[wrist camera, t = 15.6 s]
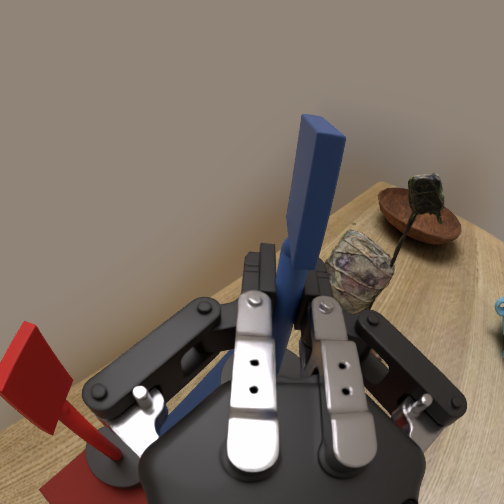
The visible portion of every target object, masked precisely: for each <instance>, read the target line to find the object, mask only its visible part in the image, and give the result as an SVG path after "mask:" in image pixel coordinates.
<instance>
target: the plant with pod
mask: <svg viewBox="0 0 504 504" xmlns="http://www.w3.org/2000/svg"><path fill="white" fill-rule="evenodd" d="M408 189H409V193H408V197H409V205H410V208H411V209H412V210H413V212H412V213H411V216H410V218H409V219H408V223H407V226H406V229H405V231H404V234H403V236H402V237H401V238H400V240H399V243H398V245H397V247H396V249H395V252H394V256H393V258H392V260H391V258H390V255H389V254H387V253H386V252H385V251H384V250H383V249H382V248H381V247H380V246H379V245H378V244H376V243H375V242H374V241H372V240H370V239H369V238H368V237H367V236H366V235H365V234H363V233H361V232H358V231H355V230H349V231H347V232H346V233H345V234H344V235H343V237H342V238H341V240H340V241H339V244H338V245H337V246H336V247H335V249H334V250H333V251H332V253H331V255H330V257H329V258H328V259H327V260H326V261H325V265H326V268H327V273H328V276H329V280H330V284H331V288H332V293H333V297H334V299H335V300H337V301H338V302H339V303H340V305H341V308H342V310H344V311H346V312H349V313H352V314H355V315H358V316H359V314H360V313H361V312H362V311H364V310H370V309H371V307H372V305H373V302H374V301H375V299H376V297H377V296H378V295H379V294H380V292H382V290H383V289H384V288H386V287H387V286H388V285H389V282H390V280H391V278H392V276H393V275H394V270H395V269H394V266H395V265H394V262H395V260H396V258H397V255H398V253H399V250H400V248H401V246H402V245H403V241H404V240H405V237H406V235H407V233H408V232H409V231H410V229H411V226H412V225H413V223H414V221H415V218H416V216H417V215H423V214H426V213H429V214H430V215H432V214H434V215H435V216H436V217H437V221H438V223H439V224H442V223H443V222H442V219H441V218H442V215H441V213H440V212H441V210H443V209H444V194H443V189H442V183H441V179H440V177H439V176H438V175H437V174H436V173H432V174H425V175H424V174H423V175H417V176H413V177H411V178H410V179H409V181H408ZM352 224H353V225H356V224H355V223H352ZM371 352H372V353H373V354H374V355H375V356H376V357H377V356H378V357H380V356H379V355H378V354H377V353H376V352H375V351H374V350H373V349H372V351H371ZM378 357H377V358H378ZM378 359H379V358H378ZM379 360H380V361H382V360H381V359H379Z"/></svg>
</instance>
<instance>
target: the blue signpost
mask: <svg viewBox="0 0 504 504" xmlns="http://www.w3.org/2000/svg"><path fill="white" fill-rule="evenodd" d="M345 141H346V137H345V136H344V135H343V134H342V133H341V132H339V131H338V130H337V129H336V128H335V127H334V126H332V125H331V124H330V123H329V122H328V121H326V120H325V119H324V118H323V117H321V116H314V115H309V114H302V116H301V123H300V131H299V137H298V144H297V151H296V158H295V164H294V171H293V178H292V184H291V191H290V196H289V203H288V209H287V215H286V219H287V228H288V238H286V240H285V241H284V242H283V244H282V247H281V252H280V258H279V264H278V269H277V275H276V285H277V294H276V299H275V304H274V309H273V314H272V337H274V339H275V363H276V374H279V375H283V376H286V377H290V378H300V358H299V357H298V356H297V355H296V354H294V353H293V352H291V351H290V350H288V349H286V348H287V344H288V341H289V338H290V334H291V331H292V328H293V324H294V320H295V317H296V314H297V310H298V306H299V303H300V299H301V296H302V292H303V288H304V285H305V281H306V278H307V274H308V270H315V268H316V265H317V262H318V258H319V254H320V251H321V247H322V243H323V239H324V235H325V231H326V227H327V223H328V219H329V215H330V211H331V207H332V202H333V198H334V194H335V189H336V185H337V180H338V176H339V171H340V166H341V162H342V156H343V152H344V147H345ZM233 362H234V353H233V354H232V355H231V356H230V357H229V358H228V359H227V360H226V362H225V363H224V365H223V367H222V370H221V375H220V385H222V384H223V383H225V382H227V381H229V380H232V375H233Z"/></svg>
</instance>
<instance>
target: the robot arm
mask: <svg viewBox="0 0 504 504" xmlns="http://www.w3.org/2000/svg"><path fill="white" fill-rule="evenodd" d="M276 294H277V285H276V254H275V244H267V243H261V244H260V252H249V253H248V254H247V256H246V257H245V261H244V271H243V280H242V290H241V295H240V296H239V298H238V299H237V300H235V301H233V302H231V303H227V304H219V302H218V301H216V300H215V299H213V298H209V297H200V298H196V299H194V300H193V301H191V302H190V303H189V304H188V305H186V306H185V307H183V308H182V309H181V310H180V311H178V312H177V313H176V314H174V315H173V316H172V317H171V318H169V319H168V320H167V321H165V322H164V323H163V324H161V325H160V326H159V327H157V328H156V329H155V330H153V331H152V332H151V333H150V334H149V335H147V336H146V337H144V338H143V339H142V340H140V341H139V342H138V343H136V344H135V345H134V346H133V347H131V348H130V349H129V350H127V351H126V352H125V353H123V354H122V355H121V356H119V357H118V358H117V359H116V360H114V361H113V362H112V363H110V364H109V365H108V366H106V367H105V368H104V369H102V370H101V371H100V372H99V373H97V374H96V375H95V376H93V377H92V378H91V379H89V380H88V381H87V382H86V383H85V385H84V386H83V389H82V398H83V401H84V403H85V404H86V405H87V406H88V407H89V408H90V410H91V411H92V413H93V414H94V415H95V416H96V417H97V418H98V419H99V421H100V422H101V423H102V424H103V425H104V426H106V427H107V428H109V429H110V430H111V431H112V432H113V433H114V434H116V435H118V436H119V437H120V438H121V439H122V440H123V441H124V442H125V443H126V444H127V445H128V446H129V447H130V448H131V449H132V450H133V451H134V452H135V453H136V454H137V455H138V456H139V457H140V460H139V464H138V476H139V480H140V483H141V485H142V487H143V490H144V492H145V495H146V499H147V503H148V504H418V497H419V491H420V486H421V483H422V480H423V477H424V474H425V468H426V461H425V456H424V452H425V451H426V450H427V449H428V448H429V447H430V445H431V444H432V443H433V442H434V441H435V439H436V438H437V437H438V436H439V434H440V433H441V432H442V431H443V430H444V429H445V428H447V427H448V426H449V425H451V424H452V423H453V422H455V421H456V420H457V419H459V418H460V417H461V416H463V415H464V414H465V412H466V410H467V401H466V398H465V396H464V395H463V394H462V393H461V392H460V391H459V390H458V389H457V388H456V387H455V386H454V385H453V384H452V383H451V382H450V380H449V379H448V378H447V377H446V376H445V375H444V374H443V373H442V372H441V371H440V370H439V369H438V368H437V367H435V366H434V365H433V364H432V363H431V362H430V361H429V360H428V359H427V358H426V357H425V356H424V355H423V354H422V353H421V352H420V351H419V350H418V349H417V348H416V347H415V346H414V345H413V344H412V343H411V342H410V341H409V340H408V339H407V338H406V337H405V336H403V335H402V334H401V333H400V332H399V331H398V330H397V329H396V328H395V327H394V326H393V325H392V324H391V323H390V322H389V321H388V320H386V319H385V318H384V317H383V316H382V315H381V314H380V313H378V312H376V311H374V310H364V311H362V312H361V313H360V314H359V316H358V315H355V314H352V313H349V312H346V311H344V310H342V308H341V305H340V303H339V302H338V301H337V300H335V299H334V297H333V293H332V288H331V284H330V280H329V276H328V273H327V268H326V265H325V263H324V262H323V261H322V260H321V259H320V258H318V262H317V265H316V268H315V270H308V274H307V278H306V281H305V285H304V288H303V292H302V296H301V299H300V303H299V306H298V310H297V314H296V317H295V320H294V330H301V337H300V340H299V354H300V378H290V377H286V376H283V375H279V374H276V363H275V339H274V337H272V314H273V309H274V304H275V299H276ZM231 349H235V350H234V362H233V375H232V380H229V381H227V382H225V383H223V384H222V385H220V386H219V387H217V388H216V389H215V390H214V391H213V392H211V393H210V394H209V395H208V396H207V397H206V398H205V399H204V400H203V401H201V402H200V403H199V404H198V405H197V406H196V407H195V408H193V409H192V410H191V411H190V412H189V413H188V414H186V415H185V416H184V417H183V418H182V419H181V420H179V421H178V422H177V423H176V424H175V425H173V426H172V427H171V428H170V429H169V430H167V431H166V432H165V433H164V434H162V435H161V436H160V430H161V427H162V425H163V424H164V423H165V421H166V420H167V417H168V409H167V406H166V403H167V402H168V401H169V400H170V399H171V398H172V397H174V396H175V395H176V394H177V393H178V392H179V391H180V390H181V389H182V388H183V387H184V386H186V385H187V384H188V383H189V382H190V381H191V380H192V379H193V378H194V377H195V376H196V375H197V374H198V373H199V372H201V371H202V370H203V369H204V368H205V367H206V366H207V365H208V364H209V363H210V362H211V361H212V360H213V359H214V358H215V357H216V356H217V355H218V354H219V353H220V351H225V350H231ZM372 349H373V350H374V351H375V352H376V353H377V354H378V355H379V356H380V357H381V358H382V359H383V360H384V361H385V362H386V363H387V364H388V366H389V369H388V368H387V367H386V366H385V365H384V364H383V363H382V362H381V361H380V360H379V359H378V358H377V357H376V356H375V355H374V354H373V353H372V352H371V351H372ZM364 386H365V387H366V389H367V390H368V391H369V392H370V393H371V394H372V395H373V396H374V397H375V398H376V399H377V401H378V402H379V403H380V404H381V405H382V406H383V407H384V408H385V409H386V410H387V411H388V412H389V414H390V415H391V418H390V417H389V416H388V415H387V414H386V413H385V412H384V411H383V410H382V409H381V408H380V407H379V406H378V405H377V404H376V403H375V402H374V401H373V400H372V399H371V398H370V397H369V396H368V395H367V394H366V393H365V389H364Z"/></svg>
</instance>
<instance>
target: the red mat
mask: <svg viewBox="0 0 504 504" xmlns="http://www.w3.org/2000/svg"><path fill="white" fill-rule="evenodd" d="M85 450H86V449H85ZM85 450H84V451H83V452H82V453H80V454H79V455H78V456H77V457H76V458H75V459H74V460H72V461H71V462H70V463H69V464H68V465H67V466H66V467H64V468H63V469H62V470H61V471H60V472H59V473H58V474H56V475H55V476H54V477H53V478H52V479H51V480H49V481H48V482H47V483H46V484H45V485H44V486H42V487H41V488H40V489H39V490H40V492H41V493H42V494H43V496H44V497H45V498H46V499H47V501H48V502H49V503H50V504H148V503H147V499H146V495H145V492H144V490H143V487H142V486H141V487H138V488H135V489H120V488H116V487H113V486H111V485H108V484H106V483H104V482H102V481H101V480H100V479H98V478H97V477H96V476H95V475H94V474H93V473H92V471H91V470H90V468H89V466H88V464H87V461H86V455H85Z"/></svg>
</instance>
